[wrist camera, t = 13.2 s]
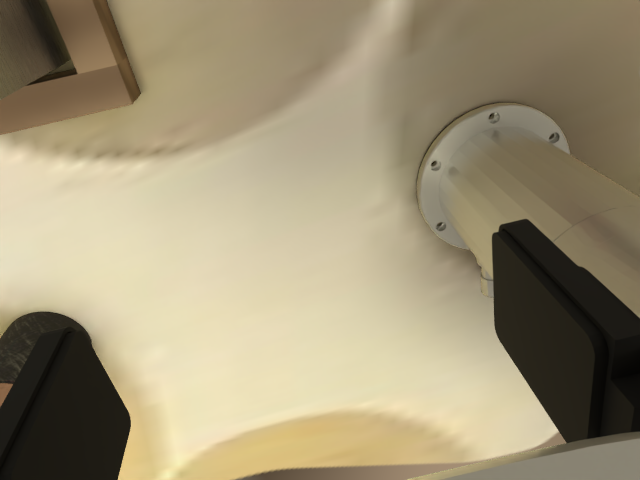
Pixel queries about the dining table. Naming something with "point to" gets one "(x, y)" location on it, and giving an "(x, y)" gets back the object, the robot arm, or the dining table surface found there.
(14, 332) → the travel mug
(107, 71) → the socket block
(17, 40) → the peg
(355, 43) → the dining table surface
